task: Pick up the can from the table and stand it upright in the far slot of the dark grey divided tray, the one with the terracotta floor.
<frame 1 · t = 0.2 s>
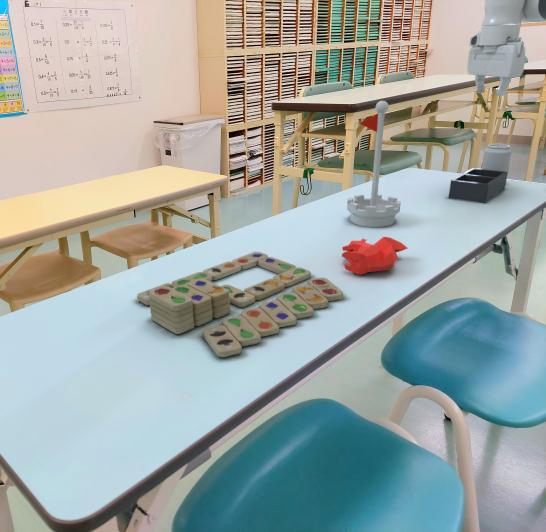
hand: (489, 94, 139), 29 cm above the table, tool pointing down, fingers open, 8 cm apart
pile of dominoes: (242, 299, 96), on the table
can: (492, 183, 166), on the table
flag stand: (372, 221, 136), on the table
animal figurine: (372, 264, 109), on the table
dark grey divided tray: (477, 193, 155), on the table
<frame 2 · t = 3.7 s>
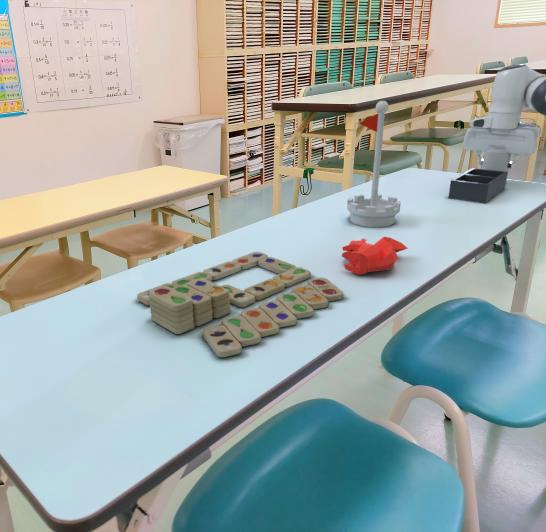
hand: (494, 166, 164), 5 cm above the table, tool pointing down, fingers closed on can, 7 cm apart
can: (492, 183, 166), on the table, touching gripper
everything else where it was.
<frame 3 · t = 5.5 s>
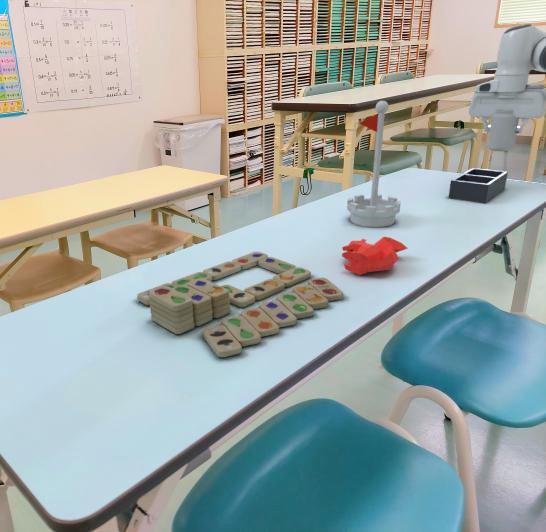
hand: (502, 132, 160), 16 cm above the table, tool pointing down, fingers closed on can, 7 cm apart
can: (499, 150, 162), point 10 cm above the table, touching gripper
everything else where it was.
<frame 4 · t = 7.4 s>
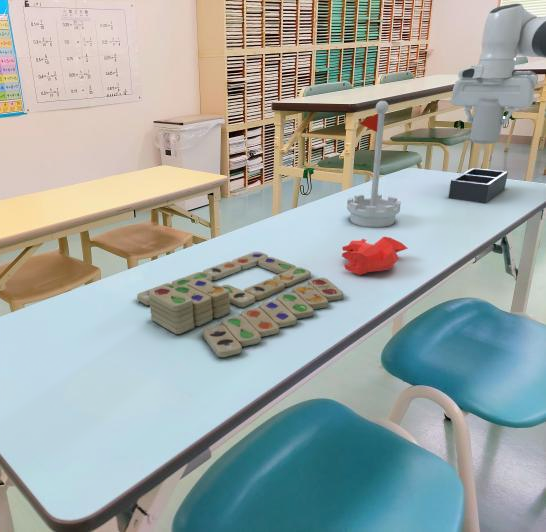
hand: (486, 123, 146), 21 cm above the table, tool pointing down, fingers closed on can, 7 cm apart
can: (483, 142, 148), point 15 cm above the table, touching gripper
everything else where it was.
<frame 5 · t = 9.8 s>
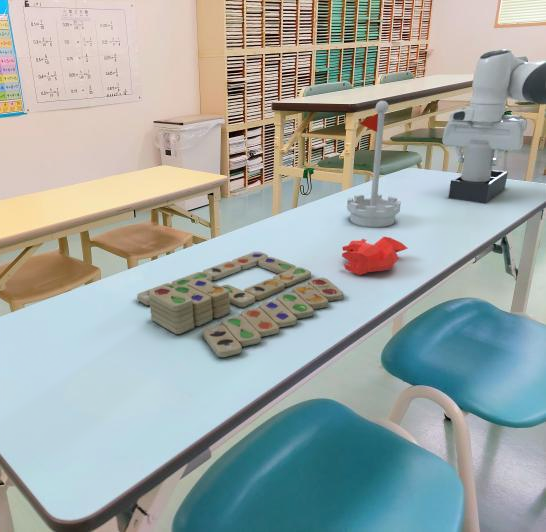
hand: (477, 163, 149), 10 cm above the table, tool pointing down, fingers closed on can, 7 cm apart
can: (474, 182, 151), point 4 cm above the table, touching gripper
everything else where it was.
when the fingers open (6 cm above the table, at t = 11.5 s): can stays where it is, resting on dark grey divided tray.
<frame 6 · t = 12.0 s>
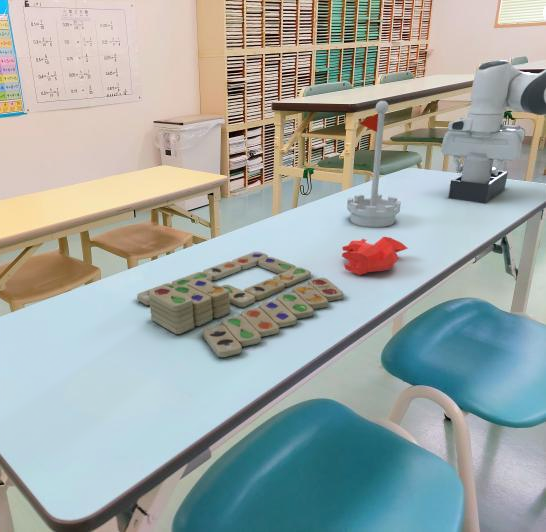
hand: (476, 173, 150), 7 cm above the table, tool pointing down, fingers open, 8 cm apart
can: (473, 194, 152), point 1 cm above the table, touching dark grey divided tray
everything else where it was.
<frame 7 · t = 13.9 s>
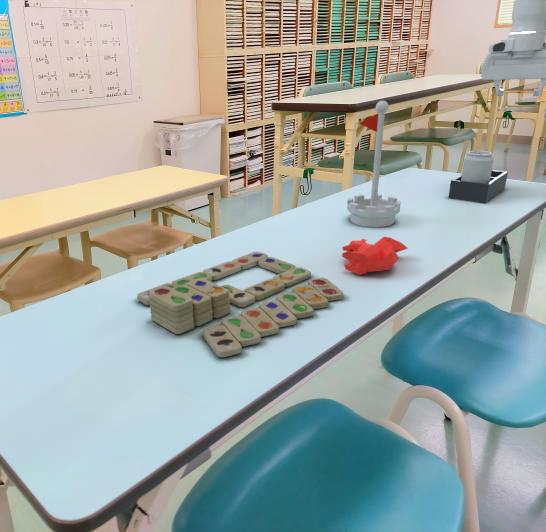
hand: (517, 96, 149), 27 cm above the table, tool pointing down, fingers open, 8 cm apart
nothing on the table moved.
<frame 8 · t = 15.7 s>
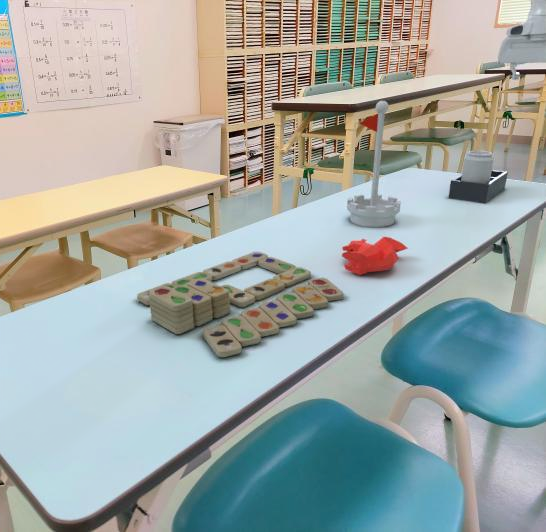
hand: (533, 79, 151), 31 cm above the table, tool pointing down, fingers open, 8 cm apart
nothing on the table moved.
at the end: can 0.1 cm from the target spot in the dark grey divided tray, point 0.8 cm above the dark grey divided tray's base; can tilted 0°; the gripper is holding nothing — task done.
